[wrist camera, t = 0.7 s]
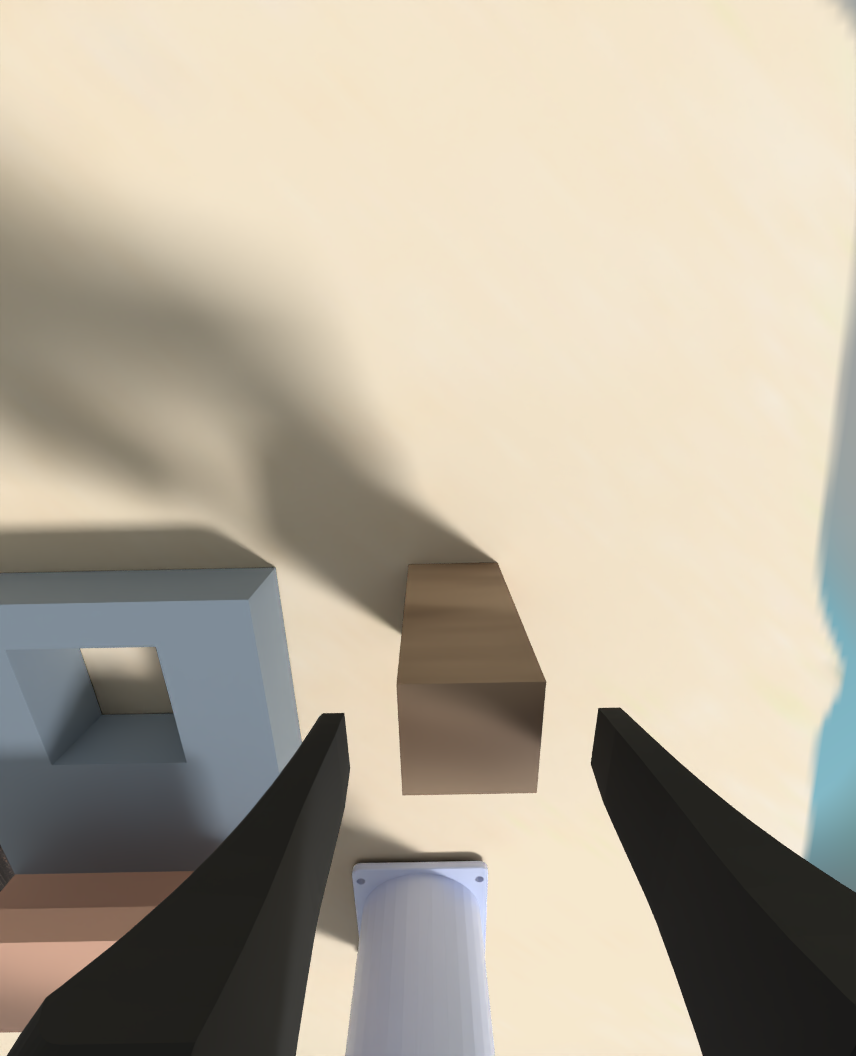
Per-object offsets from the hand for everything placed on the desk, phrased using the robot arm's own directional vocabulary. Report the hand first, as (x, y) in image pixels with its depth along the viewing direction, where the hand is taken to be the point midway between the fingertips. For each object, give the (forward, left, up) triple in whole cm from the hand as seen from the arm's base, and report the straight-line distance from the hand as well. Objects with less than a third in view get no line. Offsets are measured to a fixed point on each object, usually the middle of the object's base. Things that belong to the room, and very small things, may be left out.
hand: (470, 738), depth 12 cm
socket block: (-6, +15, -8) cm, 18 cm away
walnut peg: (0, 0, -8) cm, 8 cm away
